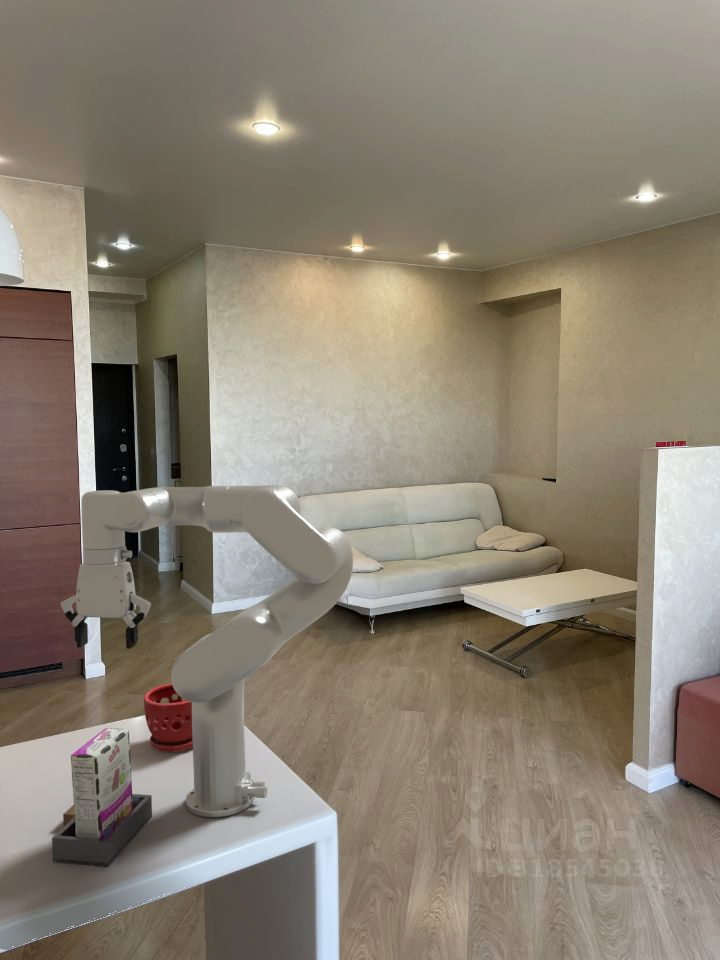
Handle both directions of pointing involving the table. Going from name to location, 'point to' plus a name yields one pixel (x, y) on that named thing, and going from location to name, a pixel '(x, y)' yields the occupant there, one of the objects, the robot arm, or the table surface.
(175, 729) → the plant pot
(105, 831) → the candy bar box
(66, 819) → the door edge rail
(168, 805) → the table surface
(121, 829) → the keeper
